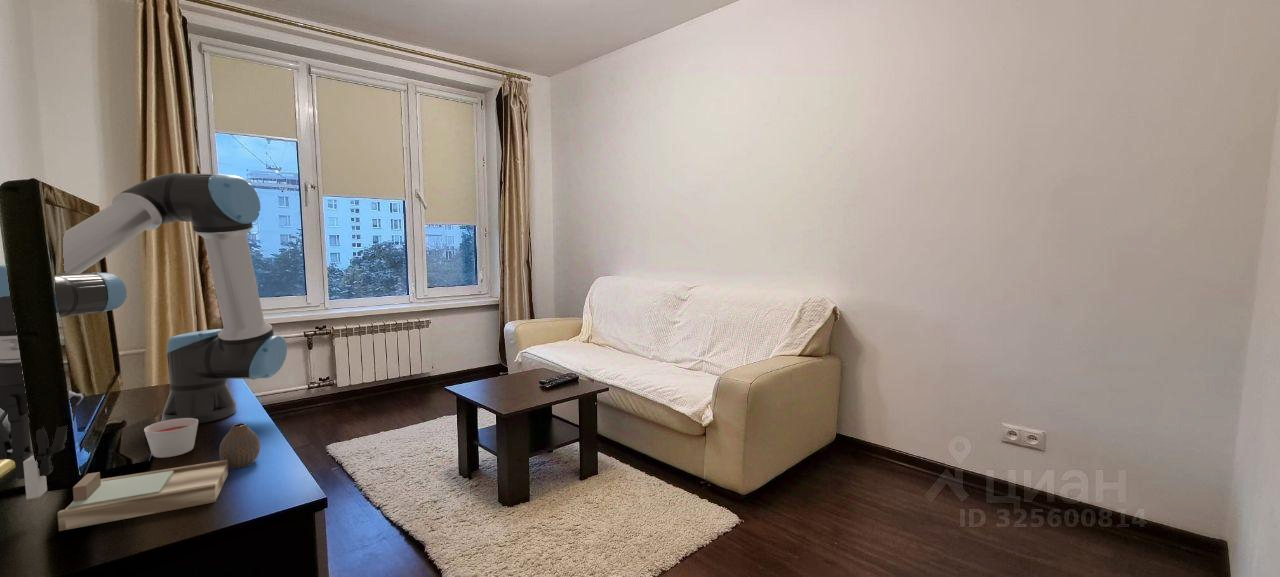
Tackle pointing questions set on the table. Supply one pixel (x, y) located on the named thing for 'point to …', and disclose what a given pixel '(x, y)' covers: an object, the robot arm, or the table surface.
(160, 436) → the candle
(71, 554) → the table surface
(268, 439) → the table surface
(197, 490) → the wooden box
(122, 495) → the lid
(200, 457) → the table surface
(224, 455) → the vase
